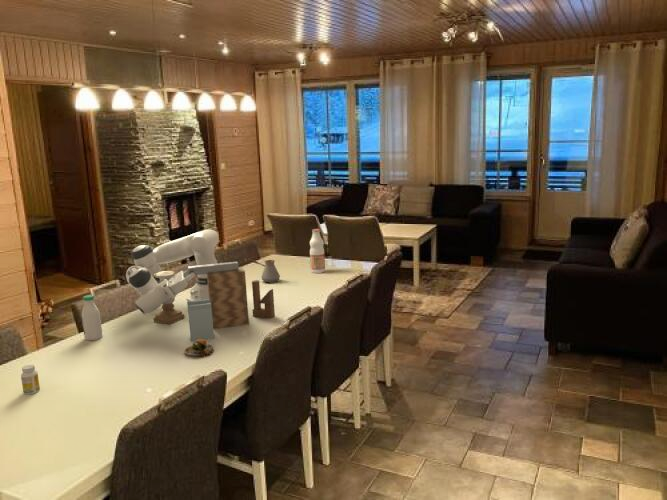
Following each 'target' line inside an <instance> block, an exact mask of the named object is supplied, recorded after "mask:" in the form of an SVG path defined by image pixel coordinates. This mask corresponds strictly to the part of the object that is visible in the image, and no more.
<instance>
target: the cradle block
mask: <svg viewBox="0 0 667 500" xmlns="http://www.w3.org/2000/svg"><path fill="white" fill-rule="evenodd" d="M186 303H187V305H186V306H187V312H188V313H187V314H188V325H189V334H190V335H189V336H190V342H196V341H197V340H198V339H204V340H209V339H210V340H211V339H215V334H214V329H213V320H212V309H211V303H210V299H206V300H198V301H187V302H186ZM203 335H204V336H203Z"/></svg>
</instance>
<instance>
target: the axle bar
mask: <svg viewBox="0 0 667 500" xmlns="http://www.w3.org/2000/svg"><path fill="white" fill-rule="evenodd" d="M239 267H240V266H239V261H229V262H220V263H218V262H217V264H207V265H198V266H197V265H191V266H189V265H188V266H187V270H188V274H189V275H190V274H191V273H192V272H193V273H194V274H195V276H198V275H200V274H210V273H219V272H228V271H238V270H239Z"/></svg>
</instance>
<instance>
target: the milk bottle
mask: <svg viewBox="0 0 667 500" xmlns="http://www.w3.org/2000/svg"><path fill="white" fill-rule="evenodd" d="M82 301H83V307H82V310H81V322H82V329H83V337H84V340H86V341H95V340H99V339H101V338H103V328H102V320H101V313H100V310H99V309H98V306H97V305H96V304H95V295H93V294H87V295H83V296H82Z"/></svg>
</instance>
